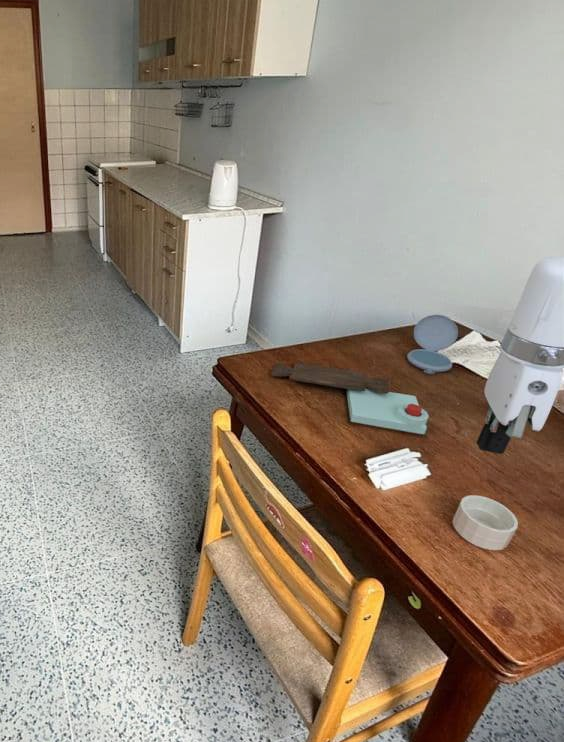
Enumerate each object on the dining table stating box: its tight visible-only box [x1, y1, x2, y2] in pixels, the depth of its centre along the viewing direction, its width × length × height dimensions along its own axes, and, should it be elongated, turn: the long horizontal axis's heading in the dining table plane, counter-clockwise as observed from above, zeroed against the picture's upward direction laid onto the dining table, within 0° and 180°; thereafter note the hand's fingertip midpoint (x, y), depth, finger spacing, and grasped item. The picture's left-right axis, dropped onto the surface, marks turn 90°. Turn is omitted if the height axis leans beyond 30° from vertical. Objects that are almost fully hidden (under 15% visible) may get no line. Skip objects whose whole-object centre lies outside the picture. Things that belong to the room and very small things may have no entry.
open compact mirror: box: [406, 314, 459, 375], centre depth 120 cm, size 10×11×15 cm
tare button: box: [406, 404, 423, 417], centre depth 99 cm, size 3×3×2 cm
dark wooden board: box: [270, 362, 390, 394], centre depth 114 cm, size 26×2×10 cm
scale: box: [346, 387, 430, 435], centre depth 104 cm, size 14×12×4 cm
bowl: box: [451, 494, 519, 551], centre depth 75 cm, size 7×7×5 cm
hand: (489, 448), depth 74 cm, fingers closed
